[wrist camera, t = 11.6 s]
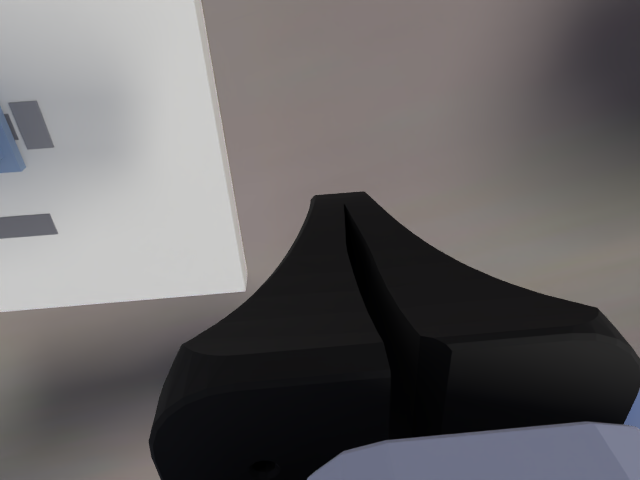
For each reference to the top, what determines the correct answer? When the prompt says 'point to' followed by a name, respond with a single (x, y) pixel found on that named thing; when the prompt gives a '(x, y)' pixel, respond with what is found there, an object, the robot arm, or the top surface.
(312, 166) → the top surface
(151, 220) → the switch board
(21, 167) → the switch tab
